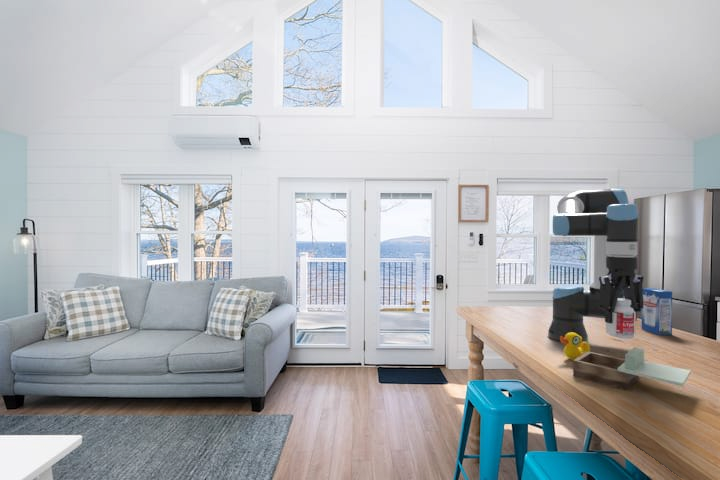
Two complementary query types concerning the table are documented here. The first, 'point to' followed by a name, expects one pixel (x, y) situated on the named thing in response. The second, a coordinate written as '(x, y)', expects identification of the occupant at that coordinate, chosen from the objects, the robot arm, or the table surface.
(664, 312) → the milk carton
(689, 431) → the table surface
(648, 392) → the table surface
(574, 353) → the duckling
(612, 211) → the robot arm
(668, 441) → the table surface
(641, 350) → the lid
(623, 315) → the pill bottle
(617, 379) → the box
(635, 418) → the table surface
